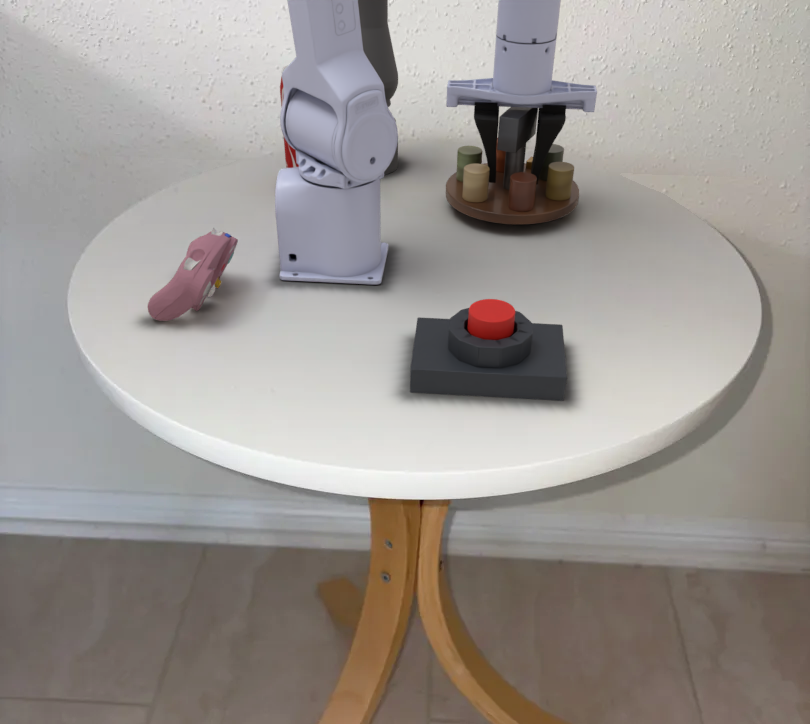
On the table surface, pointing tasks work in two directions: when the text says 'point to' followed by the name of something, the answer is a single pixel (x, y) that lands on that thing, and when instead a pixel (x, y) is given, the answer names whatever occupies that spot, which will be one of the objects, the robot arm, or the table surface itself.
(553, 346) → the timer block
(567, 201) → the spice carousel
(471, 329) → the timer button
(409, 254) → the table surface
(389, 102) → the candle holder
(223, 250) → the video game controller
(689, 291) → the table surface
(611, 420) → the table surface
